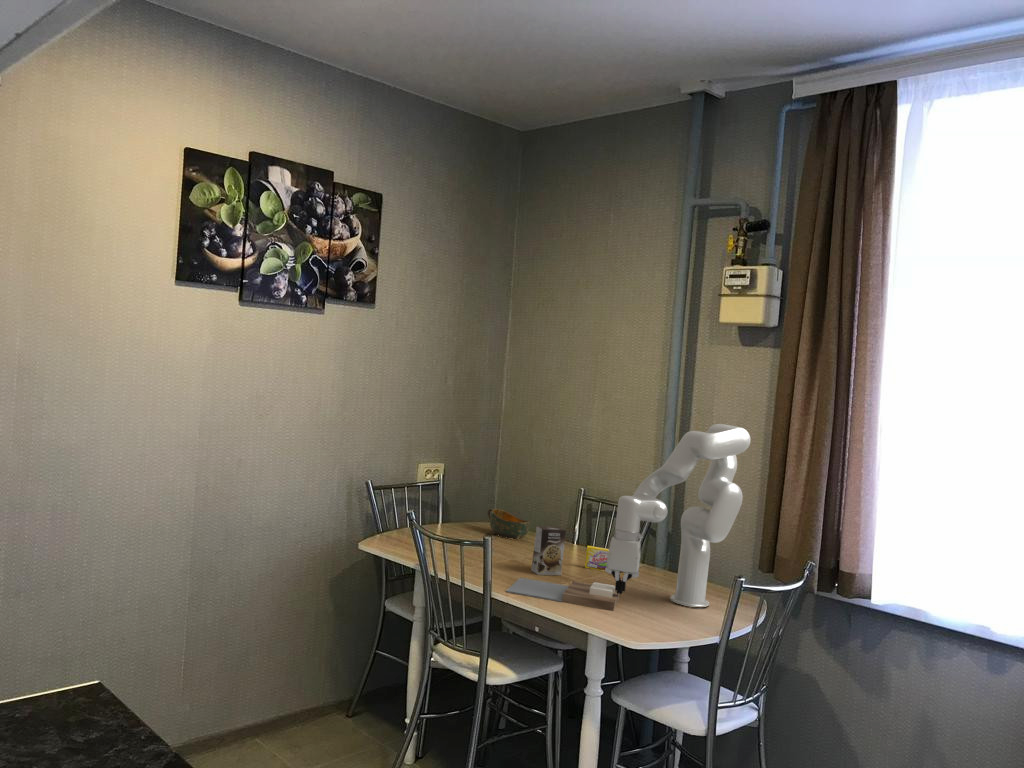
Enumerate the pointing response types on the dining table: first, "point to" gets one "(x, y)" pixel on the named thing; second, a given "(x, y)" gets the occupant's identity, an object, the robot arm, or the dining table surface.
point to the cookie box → (548, 550)
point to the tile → (602, 589)
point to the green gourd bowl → (507, 524)
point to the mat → (538, 589)
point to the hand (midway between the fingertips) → (619, 592)
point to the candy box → (596, 558)
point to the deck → (588, 597)
